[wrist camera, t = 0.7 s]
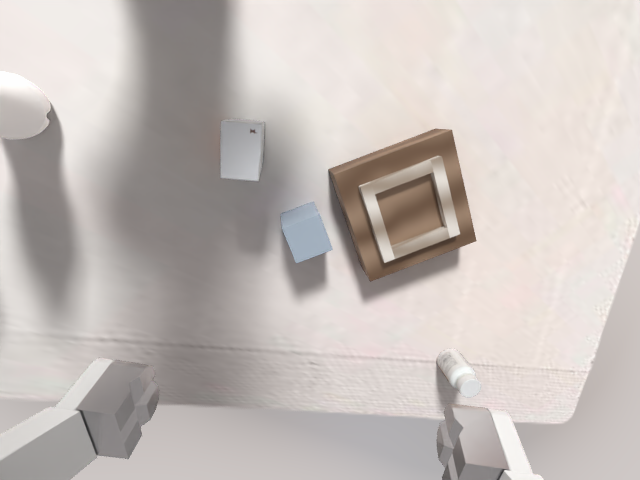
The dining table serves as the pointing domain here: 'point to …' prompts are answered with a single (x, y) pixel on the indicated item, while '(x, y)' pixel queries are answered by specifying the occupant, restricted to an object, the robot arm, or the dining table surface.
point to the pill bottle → (459, 372)
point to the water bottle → (21, 107)
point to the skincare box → (241, 149)
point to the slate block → (305, 232)
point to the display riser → (405, 203)
